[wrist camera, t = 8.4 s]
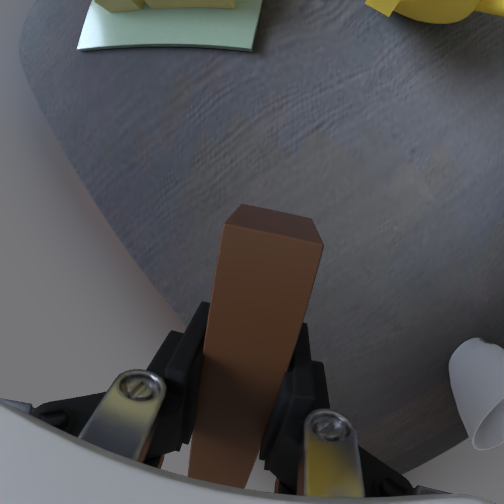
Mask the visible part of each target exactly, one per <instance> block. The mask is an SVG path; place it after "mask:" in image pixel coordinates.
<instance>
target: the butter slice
mask: <svg viewBox="0 0 504 504" xmlns="http://www.w3.org/2000/svg"><path fill="white" fill-rule="evenodd" d="M93 1H94V2H95V3H97V4H98V5H100V6H101V7H103V8H104V9H106V10H107V11H108V12H110V13H114V12H123V11H132V10H141V9H142V6H143V3H144V0H93Z"/></svg>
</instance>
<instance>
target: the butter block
mask: <svg viewBox="0 0 504 504" xmlns="http://www.w3.org/2000/svg"><path fill="white" fill-rule="evenodd" d="M144 1H145V2H146V3H147V4H148V5H149V6H150V7H151V8H152V9H156V8H227V9H234V6H235V2H236V0H144Z"/></svg>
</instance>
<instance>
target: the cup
mask: <svg viewBox="0 0 504 504" xmlns="http://www.w3.org/2000/svg"><path fill="white" fill-rule="evenodd" d="M449 375H450V382H451V388H452V391H453V395H454V398H455V401H456V404H457V408H458V411H459V414H460V417H461V419H462V421H463V424H464V426H465V428H466V431H467V433H468V436H469V438H470V441H471V443H472V445H473V447H474V448H475V449H476V450H480V451H484V450H489V449H493V448H495V447H497V446H499V445H501V444H503V443H504V349H502V348H501V347H499V346H498V345H496V344H494V343H491V342H488V341H486V340H483V339H481V338H472V339H469V340H467V341H465V342H464V343H462V344H461V345H460V346H459V347H458V348H457V349H456V350H455V352H454V353H453V355H452V356H451V358H450V361H449Z"/></svg>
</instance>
